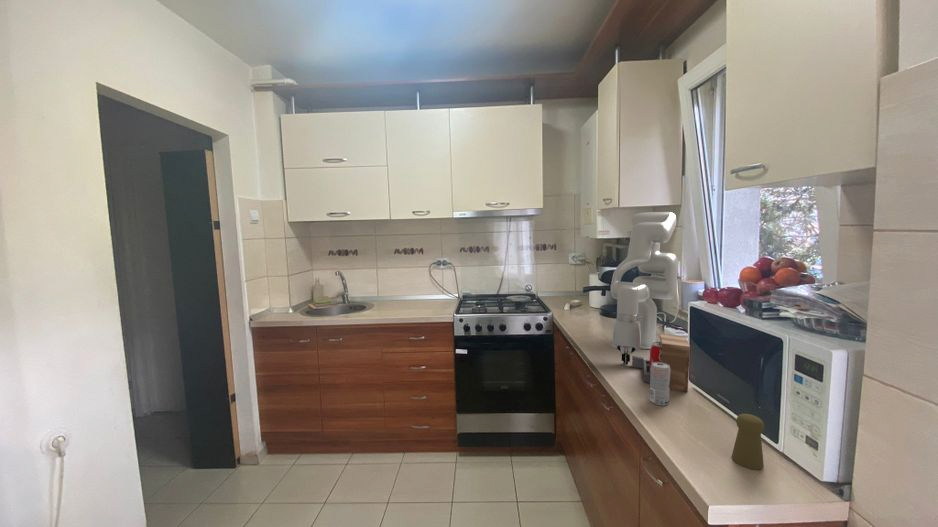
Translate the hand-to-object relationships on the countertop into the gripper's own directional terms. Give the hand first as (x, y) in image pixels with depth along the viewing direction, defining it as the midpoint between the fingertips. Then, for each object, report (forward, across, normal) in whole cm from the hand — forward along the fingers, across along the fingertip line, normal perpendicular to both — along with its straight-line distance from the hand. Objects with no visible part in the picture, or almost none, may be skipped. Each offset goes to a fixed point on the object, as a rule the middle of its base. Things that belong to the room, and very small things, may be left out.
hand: (625, 362), depth 144 cm
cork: (+1, -28, +52) cm, 59 cm away
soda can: (0, -12, +9) cm, 15 cm away
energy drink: (+1, -10, +28) cm, 30 cm away
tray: (+1, -10, +7) cm, 12 cm away
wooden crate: (+1, -15, +11) cm, 19 cm away
